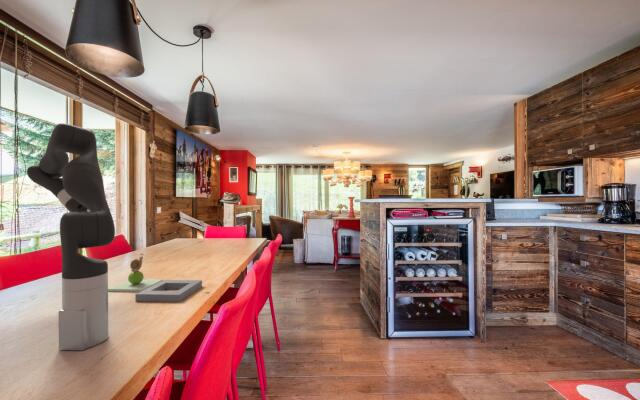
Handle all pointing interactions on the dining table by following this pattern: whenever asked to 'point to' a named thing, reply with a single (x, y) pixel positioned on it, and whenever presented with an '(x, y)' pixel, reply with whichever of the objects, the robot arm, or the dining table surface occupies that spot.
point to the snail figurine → (136, 271)
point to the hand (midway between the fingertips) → (104, 229)
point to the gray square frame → (169, 296)
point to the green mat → (134, 286)
